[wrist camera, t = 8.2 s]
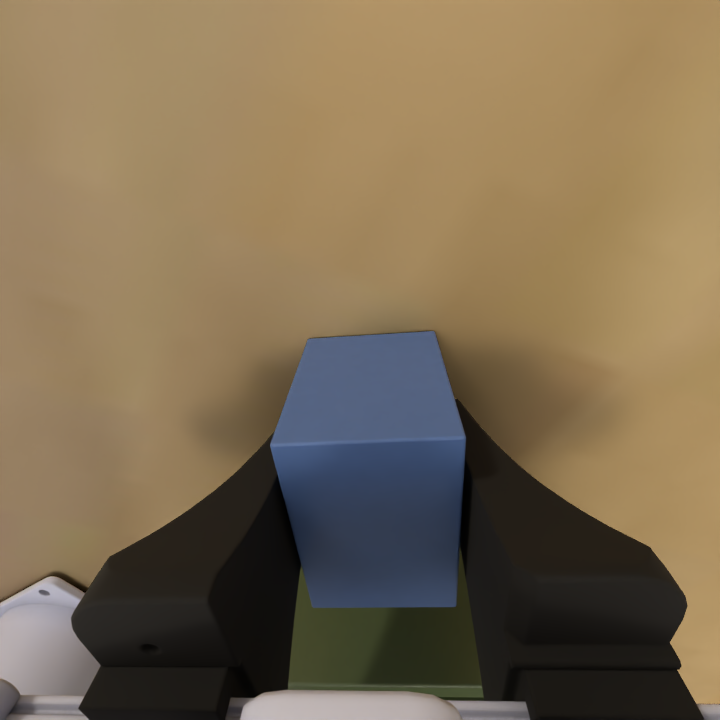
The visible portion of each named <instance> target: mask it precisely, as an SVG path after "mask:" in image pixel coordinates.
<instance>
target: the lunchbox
mask: <svg viewBox="0 0 720 720" xmlns="http://www.w3.org/2000/svg"><path fill="white" fill-rule="evenodd" d="M288 690H336V691H409V692H416V693H424V694H431V695H435V696H437V697H439V698H441V699H443V700H451V701H484V696H483V689H482V682H481V675H480V668H479V661H478V654H477V648H476V641H475V634H474V628H473V621H472V615H471V608H470V602H469V596H468V589H467V583H466V577H465V571H464V565H463V559H462V554H461V549H460V553H459V570H458V588H457V604H456V607H376V608H313V607H312V604H311V600H310V596H309V592H308V589H307V585H306V581H305V577H304V573H303V570H302V566H301V569H300V576H299V584H298V592H297V601H296V610H295V618H294V628H293V638H292V648H291V658H290V669H289V681H288Z"/></svg>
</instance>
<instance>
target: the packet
mask: <svg viewBox="0 0 720 720" xmlns="http://www.w3.org/2000/svg"><path fill="white" fill-rule="evenodd" d="M270 448H271V451H272V455H273V459H274V463H275V467H276V470H277V474H278V478H279V482H280V486H281V490H282V493H283V497H284V501H285V505H286V509H287V512H288V516H289V520H290V524H291V528H292V531H293V535H294V539H295V543H296V547H297V551H298V554H299V558H300V562H301V566H302V570H303V573H304V577H305V581H306V585H307V589H308V592H309V596H310V600H311V604H312V607H313V608H376V607H456V604H457V588H458V570H459V553H460V535H461V518H462V501H463V483H464V466H465V448H466V436H465V432H464V429H463V426H462V422H461V419H460V415H459V412H458V409H457V405H456V402H455V398H454V395H453V392H452V388H451V385H450V381H449V378H448V375H447V371H446V368H445V364H444V361H443V358H442V354H441V351H440V347H439V344H438V341H437V337H436V334H435V332H434V331H426V332H410V333H393V334H377V335H361V336H344V337H328V338H312V339H308V341H307V343H306V346H305V349H304V352H303V354H302V357H301V360H300V363H299V366H298V368H297V371H296V374H295V377H294V379H293V382H292V385H291V388H290V391H289V393H288V396H287V399H286V402H285V405H284V407H283V410H282V413H281V416H280V418H279V421H278V424H277V427H276V430H275V432H274V435H273V438H272V441H271V444H270Z"/></svg>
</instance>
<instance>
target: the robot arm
mask: <svg viewBox="0 0 720 720" xmlns="http://www.w3.org/2000/svg"><path fill="white" fill-rule="evenodd" d="M455 402H456V405H457V409H458V412H459V415H460V419H461V422H462V426H463V429H464V432H465V436H466V448H465V466H464V483H463V501H462V518H461V535H460V549H461V554H462V559H463V565H464V571H465V577H466V583H467V589H468V596H469V602H470V608H471V615H472V621H473V628H474V634H475V641H476V648H477V654H478V661H479V668H480V675H481V682H482V689H483V696H484V701H451V700H443V699H441V698H439V697H437V696H435V695H431V694H424V693H416V692H409V691H336V690H288V681H289V669H290V658H291V648H292V638H293V628H294V618H295V610H296V601H297V592H298V584H299V576H300V569H301V562H300V558H299V554H298V551H297V547H296V543H295V539H294V535H293V531H292V528H291V524H290V520H289V516H288V512H287V509H286V505H285V501H284V497H283V493H282V490H281V486H280V482H279V478H278V474H277V470H276V467H275V463H274V459H273V455H272V451H271V448H270V444H271V441H272V438H273V435H274V433H273V434H272V435H271V436H270V437H269V438H268V440H267V441H266V442H265V443H264V444H263V445H262V446H261V447H260V449H259V450H258V451H257V452H256V453H255V454H254V455H253V456H252V457H251V458H250V459H249V460H248V461H247V462H246V463H245V464H244V465H243V466H242V467H241V468H240V469H239V470H238V471H237V472H236V473H235V474H234V475H233V476H231V477H230V478H229V479H228V480H227V481H226V482H224V483H223V484H222V485H221V486H220V487H219V488H217V489H216V490H215V491H214V492H212V493H211V494H210V495H208V496H207V497H206V498H204V499H203V500H201V501H200V502H199V503H197V504H196V505H195V506H193V507H192V508H191V509H189V510H188V511H187V512H185V513H184V514H182V515H181V516H179V517H178V518H176V519H175V520H173V521H171V522H170V523H168V524H167V525H165V526H163V527H162V528H160V529H159V530H157V531H155V532H154V533H152V534H150V535H149V536H147V537H145V538H143V539H141V540H140V541H138V542H136V543H134V544H132V545H130V546H129V547H127V548H125V549H123V550H121V551H120V552H118V553H116V554H114V555H112V556H110V557H109V558H108V560H107V561H106V562H105V564H104V565H103V567H102V568H101V570H100V571H99V573H98V574H97V576H96V577H95V579H94V581H93V582H92V584H91V585H90V587H89V588H88V590H87V591H86V593H84V592H83V591H81V590H79V589H78V588H76V587H74V586H73V585H71V584H69V583H67V582H66V581H64V580H62V579H61V578H58V577H55V576H50V577H46V578H45V579H43V580H41V581H39V582H37V583H36V584H34V585H32V586H30V587H28V588H26V589H25V590H23V591H21V592H19V593H17V594H15V595H14V596H12V597H10V598H8V599H6V600H4V601H3V602H1V603H0V720H720V704H696V703H695V701H694V699H693V697H692V696H691V694H690V692H689V690H688V689H687V687H686V685H685V683H684V682H683V680H682V678H681V676H680V674H679V673H678V671H677V669H680V668H681V663H680V660H679V658H678V656H677V655H676V653H675V651H674V649H673V648H672V646H671V644H670V641H671V639H672V638H673V636H674V634H675V632H676V631H677V629H678V627H679V625H680V624H681V622H682V620H683V618H684V615H685V612H686V609H687V602H686V597H685V595H684V593H683V592H682V590H681V589H680V587H679V586H678V585H677V583H676V582H675V580H674V579H673V577H672V576H671V574H670V573H669V571H668V570H667V568H666V567H665V566H664V564H663V563H662V562H661V561H660V560H659V558H658V557H657V556H656V555H655V553H654V552H653V551H652V549H651V548H650V547H648V546H647V545H645V544H643V543H641V542H639V541H637V540H635V539H633V538H631V537H629V536H627V535H625V534H623V533H621V532H619V531H617V530H615V529H613V528H611V527H609V526H607V525H606V524H604V523H602V522H600V521H599V520H597V519H595V518H593V517H592V516H590V515H588V514H587V513H585V512H583V511H581V510H580V509H578V508H577V507H575V506H573V505H572V504H570V503H569V502H567V501H566V500H564V499H563V498H561V497H560V496H558V495H557V494H555V493H554V492H553V491H551V490H550V489H548V488H547V487H545V486H544V485H543V484H541V483H540V482H539V481H537V480H536V479H535V478H533V477H532V476H531V475H530V474H528V473H527V472H526V471H525V470H524V469H522V468H521V467H520V466H519V465H518V464H517V463H516V462H515V461H513V460H512V459H511V458H510V457H509V456H508V455H507V454H506V453H505V452H504V451H503V450H502V449H501V448H500V447H499V446H498V445H497V444H496V443H495V442H494V441H493V440H492V439H491V438H490V437H489V436H488V435H487V433H486V432H485V431H484V430H483V429H482V428H481V427H480V426H479V424H478V423H477V422H476V421H475V420H474V419H473V417H472V416H471V415H470V414H469V412H468V411H467V410H466V409H465V407H464V406H463V405H462V403H461V402H460V401H459V400H458V399H455ZM274 432H275V431H274Z"/></svg>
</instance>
